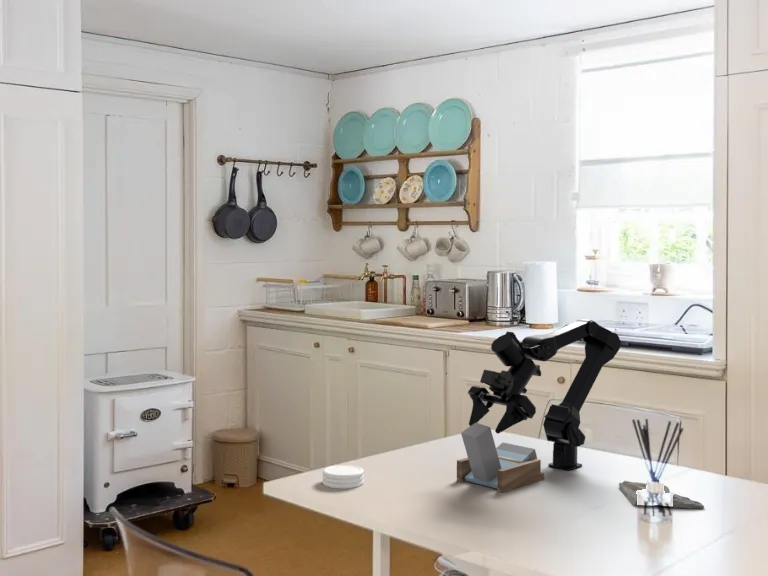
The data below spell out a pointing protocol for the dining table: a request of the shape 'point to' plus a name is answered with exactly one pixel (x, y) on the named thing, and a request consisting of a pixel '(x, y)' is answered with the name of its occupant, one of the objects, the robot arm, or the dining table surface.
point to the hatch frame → (507, 474)
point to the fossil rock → (678, 501)
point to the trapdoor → (506, 460)
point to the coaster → (343, 476)
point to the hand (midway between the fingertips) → (483, 429)
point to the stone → (481, 452)
